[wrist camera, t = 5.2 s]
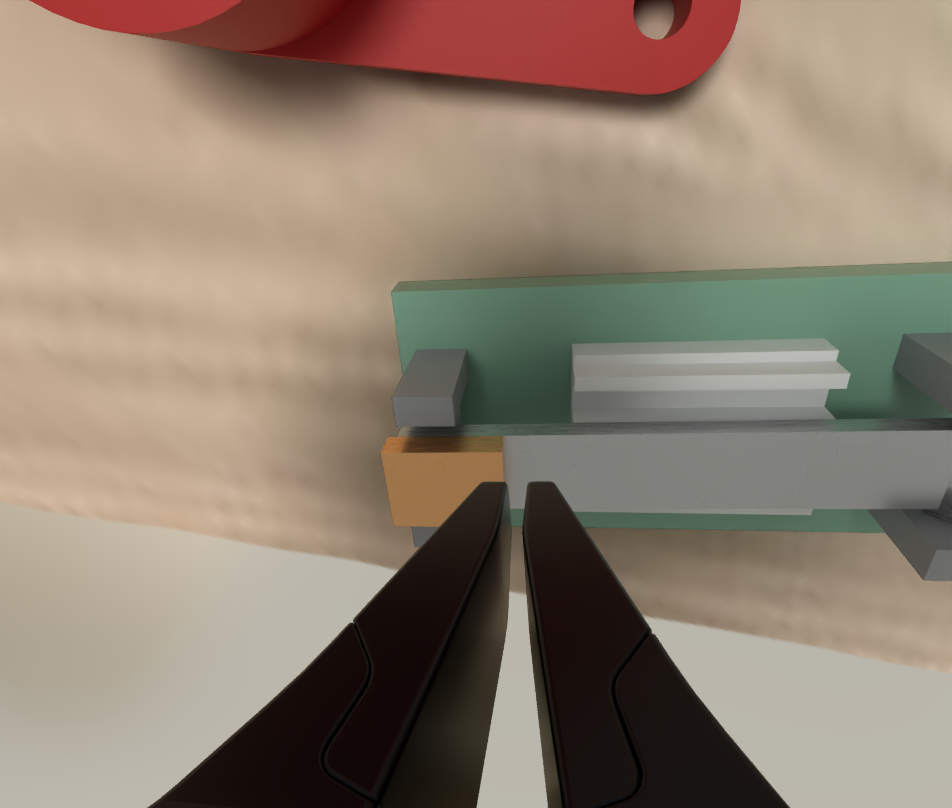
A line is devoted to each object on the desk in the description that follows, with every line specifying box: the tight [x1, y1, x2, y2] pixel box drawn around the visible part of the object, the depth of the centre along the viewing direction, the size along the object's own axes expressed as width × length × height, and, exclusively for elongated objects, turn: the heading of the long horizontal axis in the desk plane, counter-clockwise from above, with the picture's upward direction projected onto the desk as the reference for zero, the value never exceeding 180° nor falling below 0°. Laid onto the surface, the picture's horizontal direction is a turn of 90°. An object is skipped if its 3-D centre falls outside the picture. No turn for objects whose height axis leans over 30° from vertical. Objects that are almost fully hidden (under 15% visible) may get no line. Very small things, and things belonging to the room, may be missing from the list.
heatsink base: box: [391, 262, 952, 581], centre depth 18 cm, size 19×10×6 cm, turn 94°
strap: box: [381, 418, 952, 527], centre depth 17 cm, size 18×3×2 cm, turn 94°
